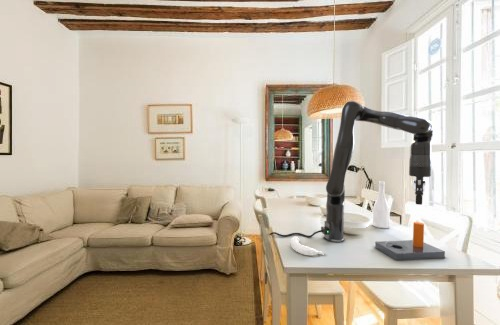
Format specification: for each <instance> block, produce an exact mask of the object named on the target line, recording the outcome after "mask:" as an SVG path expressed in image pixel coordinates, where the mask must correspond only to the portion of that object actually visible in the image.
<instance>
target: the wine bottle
mask: <svg viewBox="0 0 500 325" xmlns="http://www.w3.org/2000/svg"><path fill="white" fill-rule="evenodd" d="M385 185H386V182H385V180H379V181H378V192H377V197H376V199H375V201H374V204H373V207H372V226H373V227H375V228H379V229H388V228H390V215H391V214H390V213H391V212H390V206H389V203H388V200H387V197H386V193H385V192H386V190H385V189H386V188H385V187H386V186H385Z"/></svg>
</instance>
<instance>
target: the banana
mask: <svg viewBox="0 0 500 325" xmlns="http://www.w3.org/2000/svg"><path fill="white" fill-rule="evenodd" d="M300 241H301V239H300V238H299V236H293V237H292V238H291V239H290V246H291V248H292V249H293V250H294V251H295V252H297V253H299V254H300V255H303V256H314V255H316V254H318V255H322V256H324V255H325V253H324V252H323V251H321V250H317V249H315V248H313V247H310V246H308V245H304V244H302V243H300Z"/></svg>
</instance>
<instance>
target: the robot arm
mask: <svg viewBox="0 0 500 325" xmlns="http://www.w3.org/2000/svg"><path fill="white" fill-rule="evenodd" d="M356 122H366V123H371V124H375V125H378V126H382V127H385V128H389V129H393V130H397V131H402V132H406V133H409V134H411V135H413V138H412V139H413V141H412V142H411V143H410V153H409V163H408V164H409V165H408V166H409V168H408V175H409V177H415V179H413V189H414V191H415V192H414V194H415V204H416V205H423V197H424V192H425V186H426V180H424V178H430V177H431V176H432V141H433V134H434V124H433V122H432V121H430V120H428V119H426V118H423V117H417V116H410V115H405V114H402V113H397V112H392V111H385V110H384V111H381V110H375V109H372V108H368V107H366V106H364V105H362V104H361V103H359V102H357V101H355V100H348V101H347V102H345V104H344V105H343V107H342V108H341V115H340V123H339V129H338V133H337V137H336V142H335V147H334V150H333V157H332V161H331V162H332V164H331V170H330V174H329V177H328V180H327V182H326V185H325V191H326V203H325V220H324V226H321V227H320V230H316V231H315V232H313V233H312V234H310V235H306V234H305V233H301V232H291V233H287V234H280V233H278V232H276V231H271V232H270V233H269V236H272V235H277V236H279V237H283V238H286V237H290V236H297V235H298V236H299V235H300V236H302V237H304V238H312V237H314V236H315V235H316V234H319V233H322V234H323V238H324V239H326V240H327V241H328V242H334V243H342V242H344V240H345V238H344V235H345V202H346V201H345V199H346V198H345V196H346V187H345V180H346V174H347V171H348V169H349V166H350V163H351V162H352V161H351V160H352V157H353V153H354V151H355V150H354V149H355V134H354V127H355V123H356ZM267 284H268V272H265V273H264V285H267Z"/></svg>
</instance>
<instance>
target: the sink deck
mask: <svg viewBox="0 0 500 325" xmlns="http://www.w3.org/2000/svg"><path fill="white" fill-rule="evenodd" d="M374 243H375V244H374V248H375V249H377V250H378V251H380V252H382V253H384V254H386V255H387V256H389V257H391V258H392V259H393V260H395V261H408V260H409V261H410V260H425V259H426V260H428V259H444V258H445V257H446V252H445V250H443V249H440V248H438V247H436V246H433V245H431V244H429V243H427V242H425V241H423V247H422V248H420V247H415V246H413V239H412V240H411V239H410V240H409V239H408V240H385V241H375V242H374Z"/></svg>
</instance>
